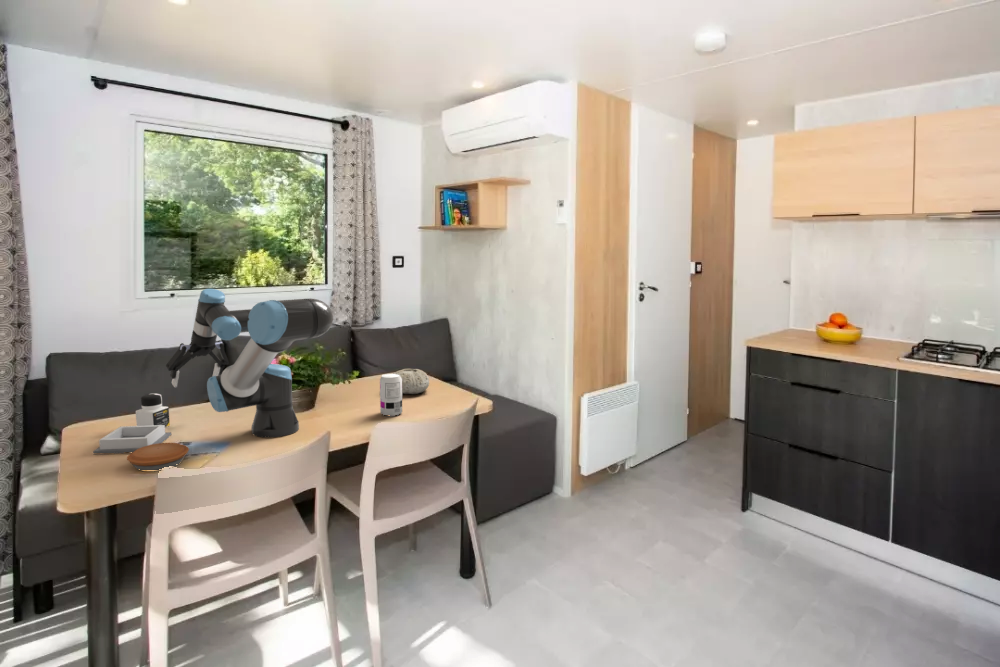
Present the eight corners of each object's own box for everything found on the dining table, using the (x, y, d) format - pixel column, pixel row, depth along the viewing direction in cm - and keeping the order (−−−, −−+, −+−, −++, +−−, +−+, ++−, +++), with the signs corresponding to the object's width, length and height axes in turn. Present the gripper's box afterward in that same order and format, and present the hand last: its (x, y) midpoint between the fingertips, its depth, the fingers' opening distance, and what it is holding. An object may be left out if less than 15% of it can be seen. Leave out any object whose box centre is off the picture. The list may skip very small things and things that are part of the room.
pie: (117, 467, 164) (115, 450, 163) (171, 451, 177) (170, 436, 176) (145, 479, 156) (143, 462, 155) (200, 461, 169) (199, 445, 168)
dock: (171, 435, 192) (170, 423, 191) (150, 451, 176) (149, 439, 175) (118, 437, 189) (117, 425, 188) (93, 454, 173) (92, 441, 173)
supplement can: (376, 415, 217) (375, 376, 215) (388, 409, 225) (387, 372, 222) (394, 417, 214) (394, 378, 212) (406, 412, 222) (405, 374, 219)
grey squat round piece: (422, 398, 241) (422, 375, 240) (382, 396, 245) (381, 373, 243) (434, 388, 259) (434, 367, 257) (397, 386, 262) (396, 365, 260)
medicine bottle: (154, 432, 194) (151, 398, 192) (136, 430, 196) (133, 396, 194) (170, 426, 201) (167, 392, 199) (153, 424, 202) (150, 391, 201)
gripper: (237, 324, 206) (225, 372, 214) (161, 328, 187) (152, 380, 195) (246, 335, 202) (234, 384, 210) (169, 340, 183) (160, 393, 191)
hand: (194, 382), depth 202 cm, fingers open, 13 cm apart
